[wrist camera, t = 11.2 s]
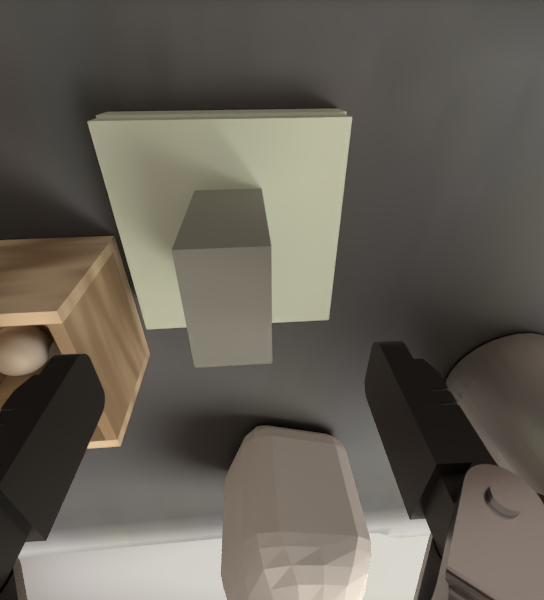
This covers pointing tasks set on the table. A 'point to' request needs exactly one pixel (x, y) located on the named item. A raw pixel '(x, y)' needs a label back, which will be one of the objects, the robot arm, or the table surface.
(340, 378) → the table surface
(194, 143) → the lid
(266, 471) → the soap bottle
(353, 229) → the table surface
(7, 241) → the storage box
